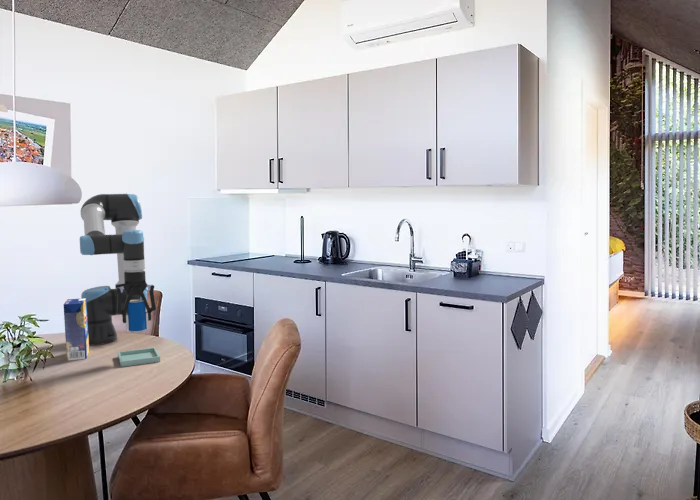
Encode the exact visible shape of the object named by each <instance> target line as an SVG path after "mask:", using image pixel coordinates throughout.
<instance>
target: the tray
mask: <svg viewBox="0 0 700 500" xmlns="http://www.w3.org/2000/svg"><path fill="white" fill-rule="evenodd" d="M117 358H118V362H119V366H120V367H121V368H123V367H132V366H137V365H147V364H154V363H160V362H161V356H160V354H159V352H158V349H157V347H146V348H141V349H132V350H124V351H123V350H122V351H117Z"/></svg>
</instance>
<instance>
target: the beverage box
mask: <svg viewBox="0 0 700 500" xmlns="http://www.w3.org/2000/svg"><path fill="white" fill-rule="evenodd" d="M63 316H64V318H63V320H64V333H65V335H64V337H65V348H66V352H65V353H66V361H76V360H86V359H87V358H88V356H89V353H90V345H89V336H88V319H87V302H86V298H70V299H69V298H68V299H66V300H65V302H64V304H63Z"/></svg>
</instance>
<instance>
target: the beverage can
mask: <svg viewBox="0 0 700 500" xmlns="http://www.w3.org/2000/svg"><path fill="white" fill-rule="evenodd" d="M143 301H144V300H142V299H134V300H130V302H129V304H128V309H127V310H128V323H129V332H130V333H132V334H134V333H135V334H138V333H143V332H145V330H147V329H146V312H147V309H145V303H144V302H143Z"/></svg>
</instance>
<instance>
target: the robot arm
mask: <svg viewBox="0 0 700 500" xmlns="http://www.w3.org/2000/svg"><path fill="white" fill-rule="evenodd" d="M80 218H81V220H82V221H83V228H84V230H83V231H84V235H81V236H80V237H79V251H80V254H81V255H82V256H83V255H84V256H96V255H111V254H112V255H113V254H114V255H116V259H117V274H118V281H117V282H116V283H115V285H114V286H115V287H114V288H111V287H110V285H100V286H95V287H91V288H87V289H85V290H84V291H81V296H80V297H81V298H86V302H87V319H88V336H89V346H97V345H104V344H109V343H112V342H115V341H117V340H118V333H117V331H116V328H115V326H114V323H113V319H112V317H113V316H120V315H121V316H122V323H123V324H125V330H126V333H129V332H130V331H129V323H128V310H127V309H128V304H129V302H130V300H134V299H142V300H144V301H143V302H144V303H145V309H146V330H147V331H149V329H150V327H149V321H150V322H151V320H152V312H154V311H156V310H157V309H156V300H155V293H154V290H155V285H154V284H148V283H147V281H146V271H145V269H146V267H145V266H146V264H145V262H146V261H145V244H144V243H145V237H144V231H143V230H140V229H136V228H137V226H138V225H139V224H140V220H142V219H143V213H142V206H141V202H140V198H139V197H138V195H137V194H134V193H110V194H109V193H101V194H97V195H94V196H91V197H90V198H88V199H87V200H86V201H85V202H84V203H83V204H82V206H81V208H80ZM105 221H111V222H110V223H111V226H113V227H114V228H115V234H106V229H105ZM148 291H149V298H150V305H151V307H150V305H149V303H148ZM81 298H80V299H81Z"/></svg>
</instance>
